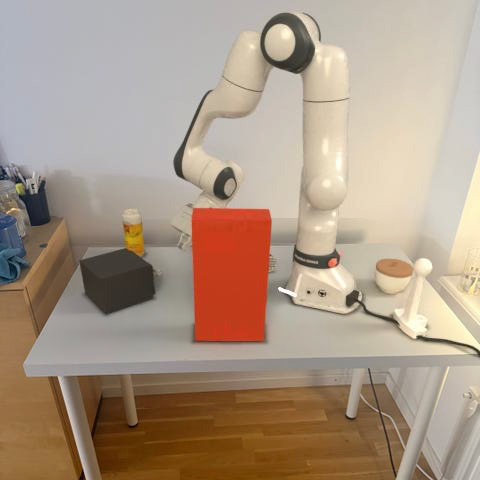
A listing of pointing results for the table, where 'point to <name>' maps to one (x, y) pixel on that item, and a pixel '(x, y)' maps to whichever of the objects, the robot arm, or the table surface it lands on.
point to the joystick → (414, 303)
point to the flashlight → (272, 263)
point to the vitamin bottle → (133, 231)
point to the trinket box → (392, 275)
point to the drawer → (151, 273)
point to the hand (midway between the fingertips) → (180, 249)
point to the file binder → (230, 273)
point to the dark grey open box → (116, 280)
